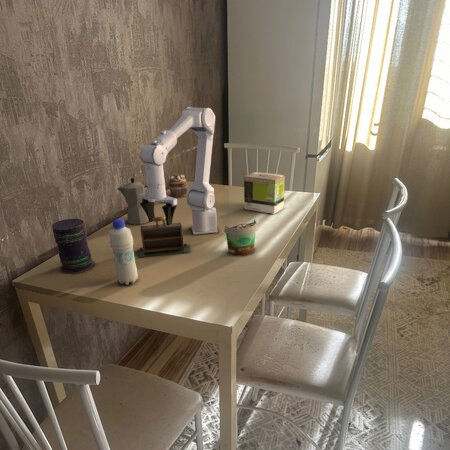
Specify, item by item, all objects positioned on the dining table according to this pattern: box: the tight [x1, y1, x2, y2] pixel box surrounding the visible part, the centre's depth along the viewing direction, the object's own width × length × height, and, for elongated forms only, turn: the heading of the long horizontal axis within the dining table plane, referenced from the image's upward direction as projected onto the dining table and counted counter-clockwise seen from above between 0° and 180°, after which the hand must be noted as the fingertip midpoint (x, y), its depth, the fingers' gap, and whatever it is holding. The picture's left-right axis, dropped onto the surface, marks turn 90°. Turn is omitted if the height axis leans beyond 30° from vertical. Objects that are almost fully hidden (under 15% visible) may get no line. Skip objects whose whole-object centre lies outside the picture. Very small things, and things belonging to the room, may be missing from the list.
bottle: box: [108, 218, 139, 286], centre depth 123 cm, size 7×7×20 cm
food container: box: [223, 219, 259, 256], centre depth 141 cm, size 12×6×10 cm, turn 118°
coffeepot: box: [116, 177, 149, 225], centre depth 170 cm, size 15×9×18 cm, turn 113°
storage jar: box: [51, 218, 94, 274], centre depth 134 cm, size 10×10×15 cm
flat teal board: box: [138, 242, 190, 258], centre depth 147 cm, size 7×17×1 cm, turn 100°
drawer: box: [140, 216, 184, 253], centre depth 144 cm, size 5×14×11 cm, turn 100°
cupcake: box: [168, 173, 189, 198], centre depth 203 cm, size 10×10×10 cm
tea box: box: [243, 171, 286, 215], centre depth 179 cm, size 15×10×15 cm
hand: (160, 222), depth 143 cm, fingers open, 7 cm apart
